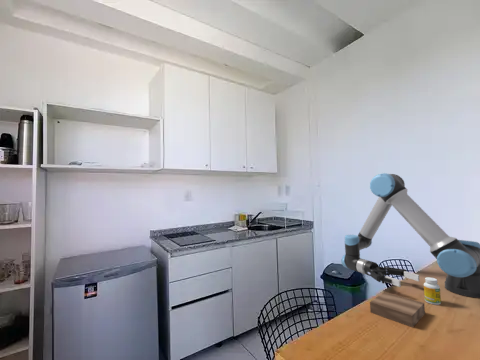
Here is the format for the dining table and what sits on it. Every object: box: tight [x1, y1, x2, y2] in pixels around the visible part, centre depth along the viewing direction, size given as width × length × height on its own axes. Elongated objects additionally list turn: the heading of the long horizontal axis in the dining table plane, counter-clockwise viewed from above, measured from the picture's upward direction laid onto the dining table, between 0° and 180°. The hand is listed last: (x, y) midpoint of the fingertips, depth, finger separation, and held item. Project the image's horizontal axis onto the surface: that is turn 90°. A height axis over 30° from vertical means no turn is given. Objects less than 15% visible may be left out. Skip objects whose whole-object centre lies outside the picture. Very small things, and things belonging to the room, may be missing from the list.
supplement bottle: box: [423, 277, 442, 306], centre depth 101 cm, size 5×5×10 cm
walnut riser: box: [369, 291, 426, 328], centre depth 93 cm, size 14×14×4 cm
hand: (409, 280), depth 109 cm, fingers open, 13 cm apart
